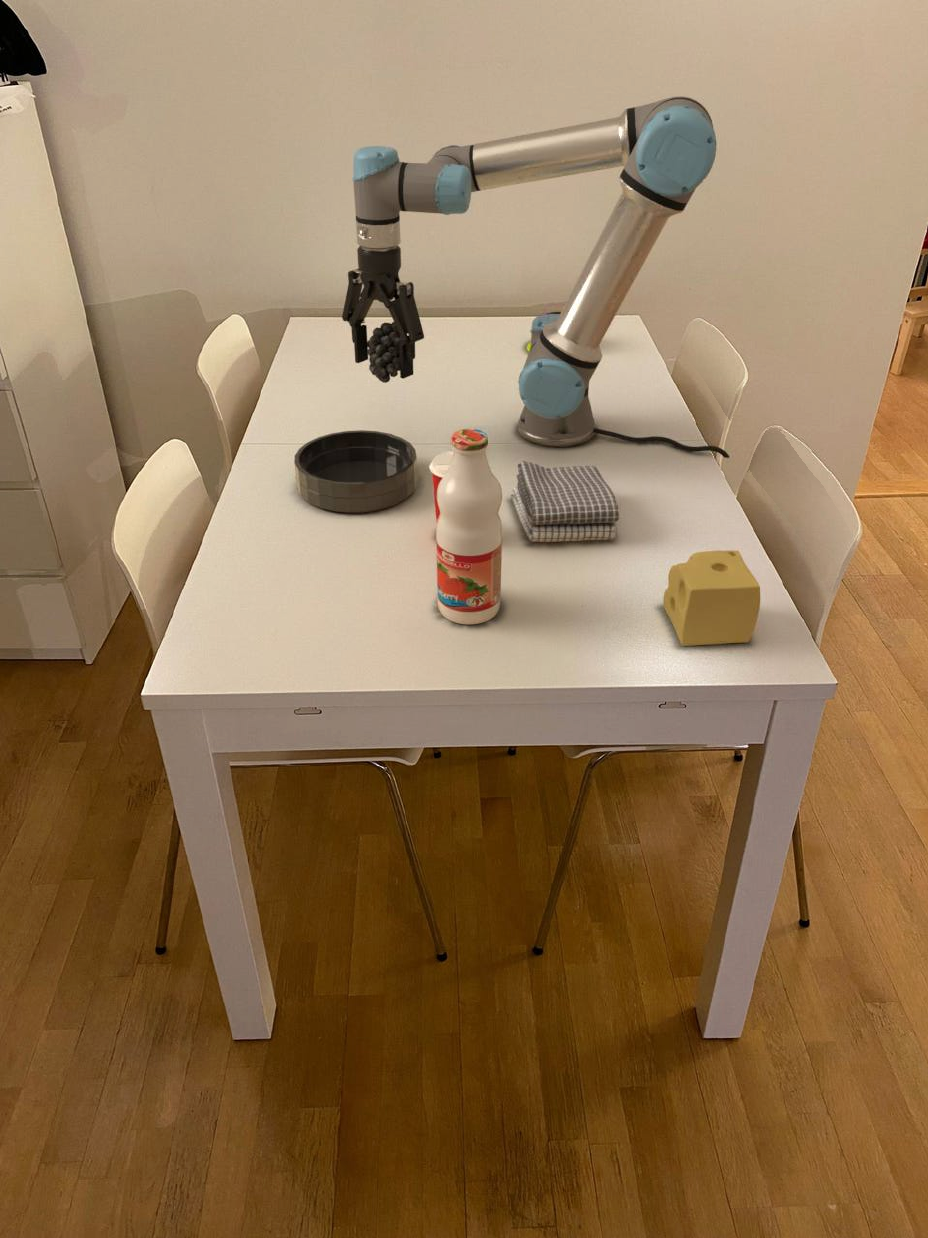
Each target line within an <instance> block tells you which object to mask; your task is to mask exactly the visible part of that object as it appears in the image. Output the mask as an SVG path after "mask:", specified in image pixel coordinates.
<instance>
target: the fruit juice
mask: <svg viewBox="0 0 928 1238" xmlns="http://www.w3.org/2000/svg"><path fill="white" fill-rule="evenodd" d="M450 444H451V449H452V451H454V453H453V456H452V459H451V462H450V465H449V468H448V470H447V472H446V474H445V475H444V477H443V478H442V480H441V481H440V483H439V485H438V488H437V503H438V506H439V509H440V516H439V518H438V521H437V523H436V530H435V531H436V532H435V540H436V541H435V542H436V543H435V544H436V593H437V594H436V595H437V597H436V599H437V600H436V601H437V607H438V610H439V613H440V614H441V615H442V616H443V617H444V618H445V619H447V620H449V621H451V622H453V623H456V624H461V625H478V624H483V623H486V622H488V621H490V620H491V619H493V618H494V617H496V616H497V614H498V612H499V610H500V607H501V593H502V592H501V591H502V559H503V556H502V553H503V524H502V523H503V522H502V519H501V516H500V514H499V512H500V508H501V506H502V502H503V488H502V486H501V483H500V482H499V479H498V478H497V477H496V476H495V475H494V473H493V472H492V469H491V466H490V464H489V460H488V457H487V452H486V450H487V449H488V447H489V437H488V434H487V432H485V431H483V430H480V429H476V428H463V429H459V430H456V431H454V432H453V433H452V435H451V441H450Z"/></svg>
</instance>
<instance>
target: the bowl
mask: <svg viewBox="0 0 928 1238" xmlns="http://www.w3.org/2000/svg"><path fill="white" fill-rule="evenodd" d="M294 473H295V480H296V482H295V483H296V489H297V492H298V493H299V495H300V497H301V498H302V499H303V500H305V501H306V502H307V503H309V504H311V505H313V506H315V507H317V508H319V509H323V510H327V511H331V512H335V513H336V512H337V513H344V514H345V513H347V514H359V513H369V512H376V511H380V510H384V509H387V508H390V507H393V506H394V505H395V506H396V505H398V504H399V503H400V502H403V501H404V500H406V499H408V498H409V497H410V496H411V495H412V494H413V493H414V492H415V491H416V489H417V485H418V458H417V450H416V448H415V447H414V446H413V445H412V443H411V442H409V441H407V439H404V438H402V437H400V436H397V435H396V434H395V435H394V434H392V433H389V432H388V433H387V432H384V431H383V432H382V431H377V430H365V429H364V430H362V429H361V430H358V429H357V430H344V431H339V432H332V433H329V434H324V435H322V436H318V437H317V438H314V439H312V440H309V441H308V442H306V443H305V444H304V445H302V446H301V447H299V448H298V450H297V452H296V453H295V455H294Z"/></svg>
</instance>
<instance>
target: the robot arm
mask: <svg viewBox="0 0 928 1238" xmlns="http://www.w3.org/2000/svg"><path fill="white" fill-rule="evenodd" d="M716 153H717V137H716V132H715V128H714V124H713V120H712V118H711V115H710V112H708V110H707V109H706V108H705V106H704V105H703V104H702V103H700V102H699V101H697V100H696V99H693V98H691V97H688V96H671V97H668V98H664V99H661V100H660V99H659V100H657V101H654V102H650V103H646V104H642V105H638V106H633V107H629V108H625V109H624V110H623V112H622V113H621V114H620V115H619V116H617V117H613V118H607V119H602V120H597V121H591V122H585V123H580V124H575V125H569V126H564V127H559V128H553V129H548V130H543V131H537V132H531V133H527V134H521V135H516V136H510V137H506V138H505V137H504V138H499V139H494V140H488V141H483V142H479V143H478V142H477V143H474V144H469V145H462V146H460V145H457V144H451V145H447V146H445V147H442V148H440V149H439V150H437V151H436V152H435V153H434V154H433V155H432V157H431V159H430V160H429V161H428V162H426V163H425V162H424V163H422V162H404V161H400V158H399V153H398V150H397V149H395V148H394V147H390V146H385V145H371V146H364V147H360V148H358V149H356V151H355V152H354V153H353V157H352V159H353V160H352V161H353V162H352V163H353V165H352V168H353V169H352V170H353V171H352V172H353V173H352V174H353V176H352V182H353V194H354V196H353V197H354V210H355V228H356V229H355V230H356V243H357V245H358V247H357V249H356V252H357V267H358V268H355V269H351V270H349V271H348V272H347V281H348V285H347V290H346V295H345V300H344V305H343V310H342V315H341V319H342V321H343V322H347V323H348V324H349V326H350V328H351V341H352V343H353V346H354V347H353V348H354V362H355V363H356V364H361V363H363V362H365V361H369V355H368V353H367V351H368V349H369V347H367V341H368V329H367V328H368V326H367V325H366V324H365V323H366V321H365V319H366V317H367V315H368V313H369V311H370V309H371V307H372V305H373V303H374V301H378V302H379V303H382V304H383V306H384V307H385V309H388V311H389V314H390V316H391V318H392V320H393V322H394V323H395V325H396V327H397V329H398V332H399V334H400V336H401V338H402V342H400V343H399V352H400V371H399V377H400V379H402V380H403V379H406V378H409V377H411V376H413V375H414V360H415V358H416V343H417V342H419V341H421V340H423V339H425V334H424V330H423V325H422V322H421V318H420V315H419V310H418V307H417V302H416V299H415V286H414V283H413V282H412V281H409V282H403V281H401V278H400V276H399V273H400V270H401V268H402V249H401V247H400V246H399V245H400V244H401V240H402V239H401V225H400V224H401V222H400V219H401V215H400V213H401V212H405V213H407V212H408V213H409V212H411V213H426V214H442V215H444V216H449V215H463V214H466V212H468V210H469V208H470V203H471V201H472V199H471V197H472V193H477V192H481V191H484V190H490V189H497V188H502V187H509V186H515V185H521V184H525V183H532V182H533V183H534V182H537V181H545V180H549V179H550V180H551V179H556V178H561V177H566V176H567V177H568V176H574V175H579V174H585V173H591V172H596V171H597V172H598V171H603V170H609V169H615V168H620V167H623V169H622V171H621V173H620V175H619V177H618V178H619V182H620V186H621V193H620V195H619V198H618V200H617V202H616V203H615V206H614V207H613V209H612V211H611V213H610V215H609V217H608V219H607V221H606V223H605V225H604V227H603V229H602V231H601V233H600V235H599V236H598V239H597V240H596V243H595V245H594V247H593V248H592V251H591V252H590V254H589V256H588V259H587V260H586V262H585V264H584V266H583V269H582V270H581V272H580V273H579V276H578V278H577V280H576V282H575V284H574V286H573V288H572V290H571V291H570V294H569V295H568V298H567V300H566V301H565V303H564V306H563V308H562V310H561V313H560V314H548V315H545V314H543V315H542V314H541V315H542V316H540V315H537V316H538V317H537V316H536V317H535V318H534V319H533V320H532V322H531V329H530V331H529V332H530V333H531V336H530V337H531V338H530V342H531V347H530V351H529V352H528V354H527V357H526V359H525V362H524V365H523V368H522V370H521V372H520V373H519V377H518V392H519V396H520V399H521V401H522V403H523V407H522V408H523V409H522V411H521V412H520V416H519V419H518V434H519V435H520V436H521V437H522V438H523V439H525V440H527V441H528V442H530V443H533V444H536V445H540V446H545V447H555V448H565V447H575V446H578V445H581V444H585V443H587V442H589V441H590V440H592V439H593V438H594V435H595V434H598V435H601V436H602V435H603V436H606V437H611V438H615V439H619V440H621V441H625V442H631V443H649V442H650V443H651V442H660V443H665V444H669V445H671V446H673V447H675V448H677V449H680V450H682V451H685V452H692V453H693V452H695V453H696V452H715V453H718V454H720V455H721V456H722V457H723V458H725V459H729V458H730V455H729V453H727V452H726V450H724V449H723V448H721V447H719V446H716V445H701V446H700V445H699V446H691V445H685V444H683V443H680V442H679V441H676V440H674V439H672V438H669V437H665V436H657V435H655V436H653V435H652V436H643V437H642V436H641V437H637V436H636V437H635V436H631V435H625V434H621V433H618V432H614V431H610V430H605V429H601V428H596V421H595V418H594V413H593V410H592V406H591V405H592V404H591V401H590V398H589V397H590V396H589V389H590V380H591V379H592V377H593V375H594V373H595V372H596V370H597V368H598V366H599V364H600V362H601V360H602V358H603V353H602V350H601V345H600V344H601V343H602V341H603V339H604V337H605V335H606V334H607V331H608V330H609V328H610V326H611V325H612V322H613V321H614V319H615V317H616V315H617V314H618V312H619V310H620V308H621V306H622V304H623V302H624V301H625V299H626V297H627V295H628V293H629V291H630V290H631V287H632V286H633V284H634V282H636V279H637V277H638V275H639V273H640V272H641V270H642V268H643V266H644V265H645V262H646V260H647V258H648V257H649V255H650V253H651V252H652V249H653V248H654V246H655V244H656V242H657V241H658V239H659V236H660V234H661V233H662V231H663V229H664V227H665V226H666V224H667V222H668V220H669V218H671V217H672V216H675V215H679V214H681V213H683V212H684V211H685V209H686V207H687V205H688V204H689V201H690V200H691V198H692V196H693V195H694V193H695V191H696V189H697V188H698V187H699V186H700V185H701V184H702V183H704V180H705V179H707V177H708V175H709V174H710V172H711V170H712V168H713V166H714V163H715V160H716V155H717V154H716Z"/></svg>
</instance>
